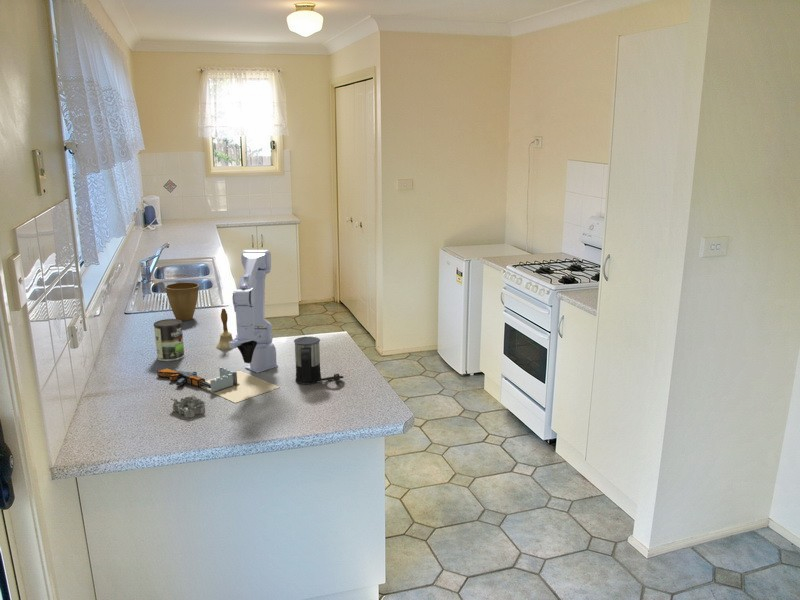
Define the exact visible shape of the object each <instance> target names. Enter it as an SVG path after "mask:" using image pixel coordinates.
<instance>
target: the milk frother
mask: <svg viewBox="0 0 800 600" xmlns="http://www.w3.org/2000/svg"><path fill="white" fill-rule="evenodd" d="M293 343H294V353H295V356H294V357H295V358H294V360H295V382H296V383H298V384H300V385H301V384H302V385H312V384H313V385H314V384H317V383H319V382H322V381H324V382H325V381H331V380H332V381H333V380H334V382H340V380H341V379H344V376H343V375H340V374H339V373H335V374H333V376H328V377H323V378H322V375H321V374H322V372H321V355H320V353H321V352H320V351H321V349H320V347H321V346H320V343H321V339H320V338H319V337H316V336H301V337H297V338H295V339H294V340H293Z"/></svg>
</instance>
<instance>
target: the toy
mask: <svg viewBox="0 0 800 600" xmlns="http://www.w3.org/2000/svg"><path fill="white" fill-rule="evenodd" d="M197 373H198V372H197V371H193V372H190V371H184V370H179V371H178V370H176V369H172V368H168V367H167V368H166V367H165V368H163V369H159V370H157V371H156V375H157V377H161V378H169V381H170V382H174V381H176V382H175V385H176V386H183V385H184V384H187V385H190V386H194V387H197V388H202V387H201V386H205V387H207V388H211V384H209V383H207V382H206V381H207V380H206V378H204V377H201V376H199V375H198V374H197Z"/></svg>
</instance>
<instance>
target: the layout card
mask: <svg viewBox="0 0 800 600" xmlns="http://www.w3.org/2000/svg"><path fill="white" fill-rule="evenodd" d="M235 372H237V385H234V384H233V386H230V387H227V388H223V389H220V390H217V391H214V392H212V391H211V388H207V387H205V386H201V387H200V388H202V389H204V390H206V391H208V392H211V393H212V394H214V395H217V396H219V397H221V398H223V399H224V400H228V401H229V402H231V403H233V404H237V403H240V402H243V401H245V400H249V399H251V398H255V397H257V396H260V395H263V394H265V393H268V392H272V391H275V390H277V389H280V386H278V385H276V384H273V383H271V382H268V381H266V380H263V379H261V378H258V377H256V376H254V375H251V374H249V373H247V372H244V371H241V370H236V371H235ZM218 377H219V376H217V377H214V378H211V379H215V380H216V378H218ZM211 379H207V380H205V381H206V382H207V383H209V384H210V381H211Z"/></svg>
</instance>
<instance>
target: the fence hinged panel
mask: <svg viewBox="0 0 800 600" xmlns="http://www.w3.org/2000/svg"><path fill="white" fill-rule="evenodd" d="M217 377H218V378H217ZM217 377H215V378H216V380H215V379H213V378H211V381H210V384H211V391H212V392H214V391H217V390H220V389H223V388H227V387H230V386H233V380H234V385H237V372H236V371H233V377H232V374H228V376H222V378H220V376H217ZM212 392H211V393H212Z"/></svg>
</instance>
